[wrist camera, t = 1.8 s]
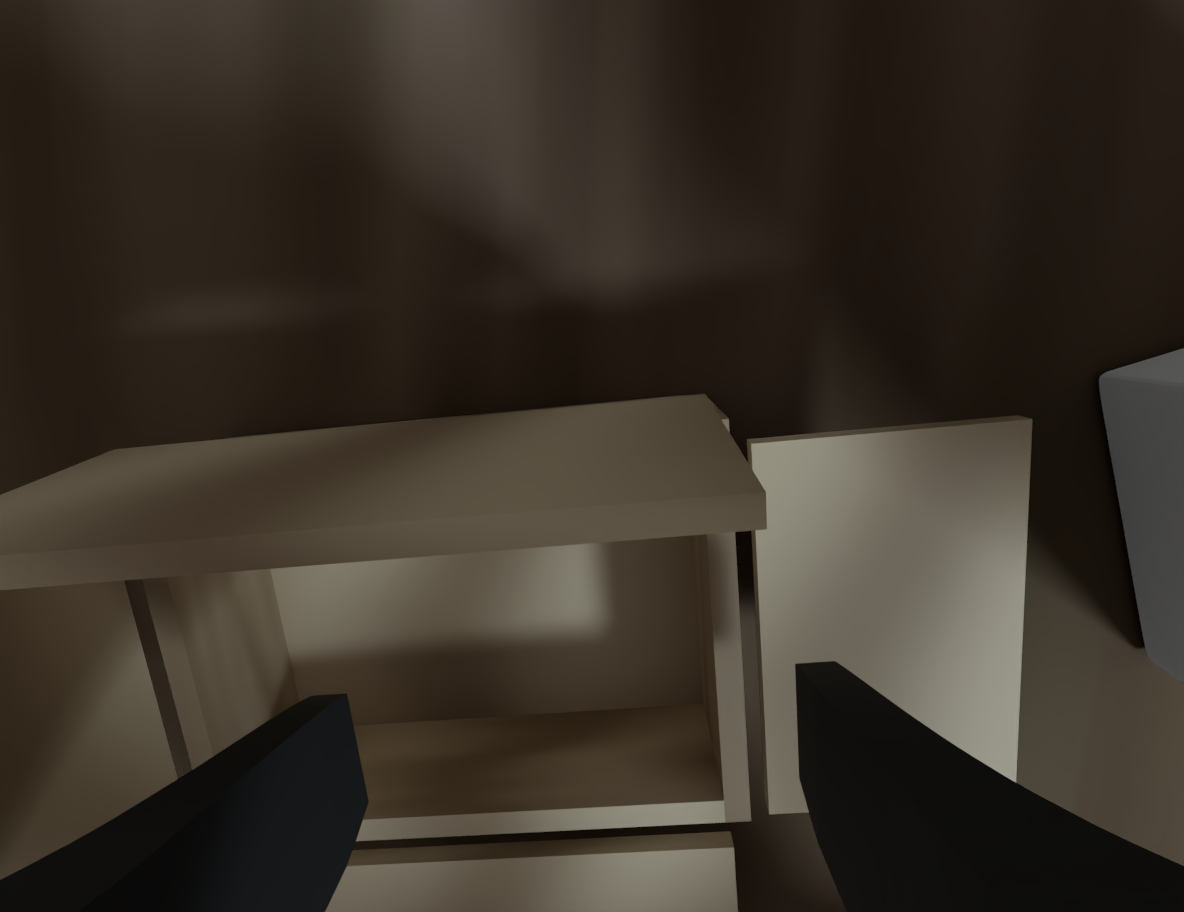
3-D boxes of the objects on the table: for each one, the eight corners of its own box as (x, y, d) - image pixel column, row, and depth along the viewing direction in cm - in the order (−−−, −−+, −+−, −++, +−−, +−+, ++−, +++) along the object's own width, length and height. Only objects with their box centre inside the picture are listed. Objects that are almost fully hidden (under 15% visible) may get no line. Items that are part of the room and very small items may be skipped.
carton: (925, 372, 14) (1033, 394, 10) (921, 866, 17) (1005, 1022, 13) (228, 437, 15) (101, 478, 11) (329, 893, 18) (254, 1045, 14)
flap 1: (-179, 613, 7) (-217, 617, 7) (10, 1109, 9) (-20, 1112, 9) (102, 500, 12) (79, 502, 12) (195, 843, 13) (175, 845, 13)
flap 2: (706, 417, 11) (705, 394, 11) (766, 529, 6) (765, 491, 6) (121, 470, 11) (114, 449, 11) (-174, 603, 7) (-192, 571, 7)
